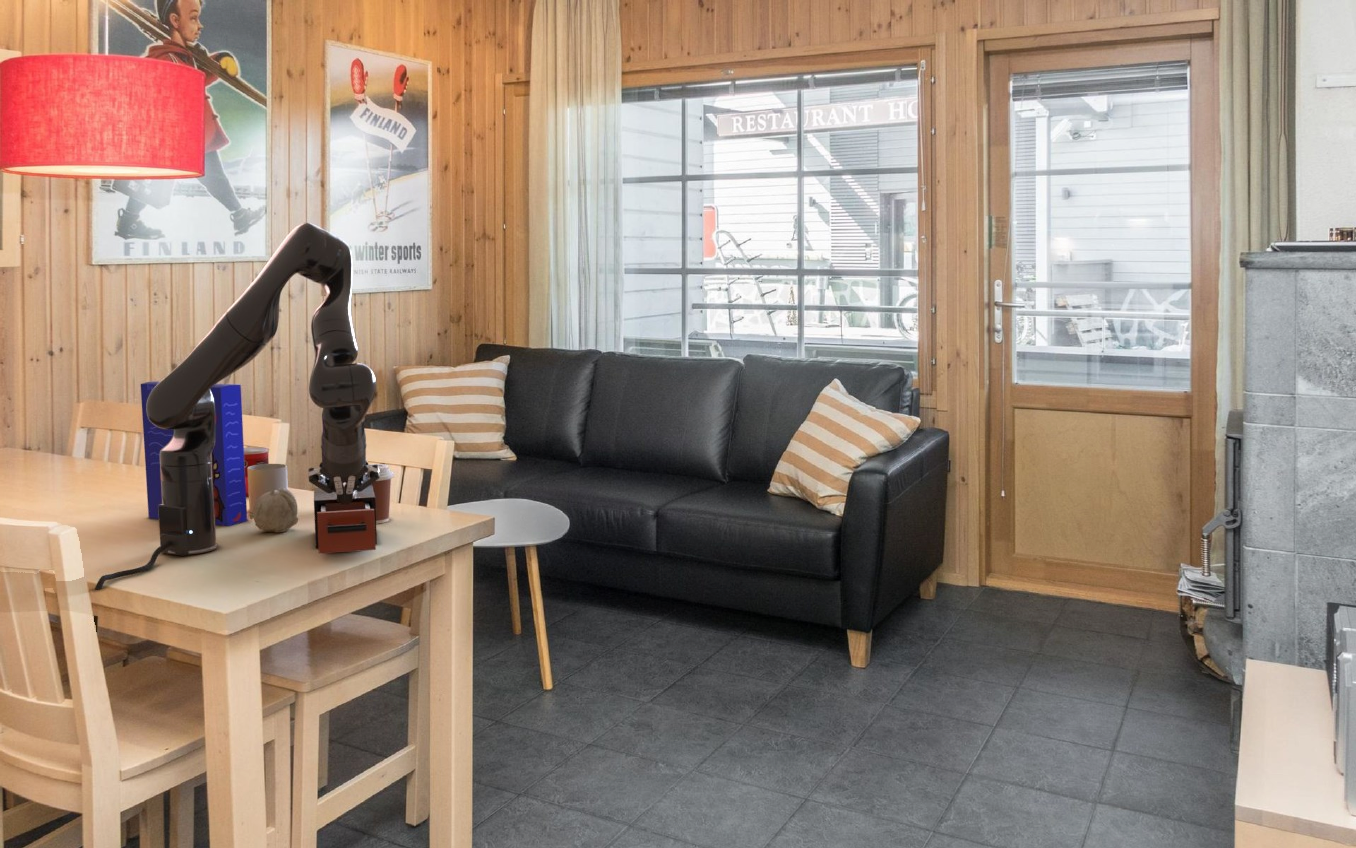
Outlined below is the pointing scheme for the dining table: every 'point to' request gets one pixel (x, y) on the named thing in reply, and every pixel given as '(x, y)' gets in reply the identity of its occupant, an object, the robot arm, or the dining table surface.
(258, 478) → the cup
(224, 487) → the cereal box
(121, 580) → the dining table surface
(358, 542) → the brown drawer box
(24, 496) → the dining table surface
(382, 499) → the coffee cup
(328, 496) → the box
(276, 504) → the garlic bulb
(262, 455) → the canned food
